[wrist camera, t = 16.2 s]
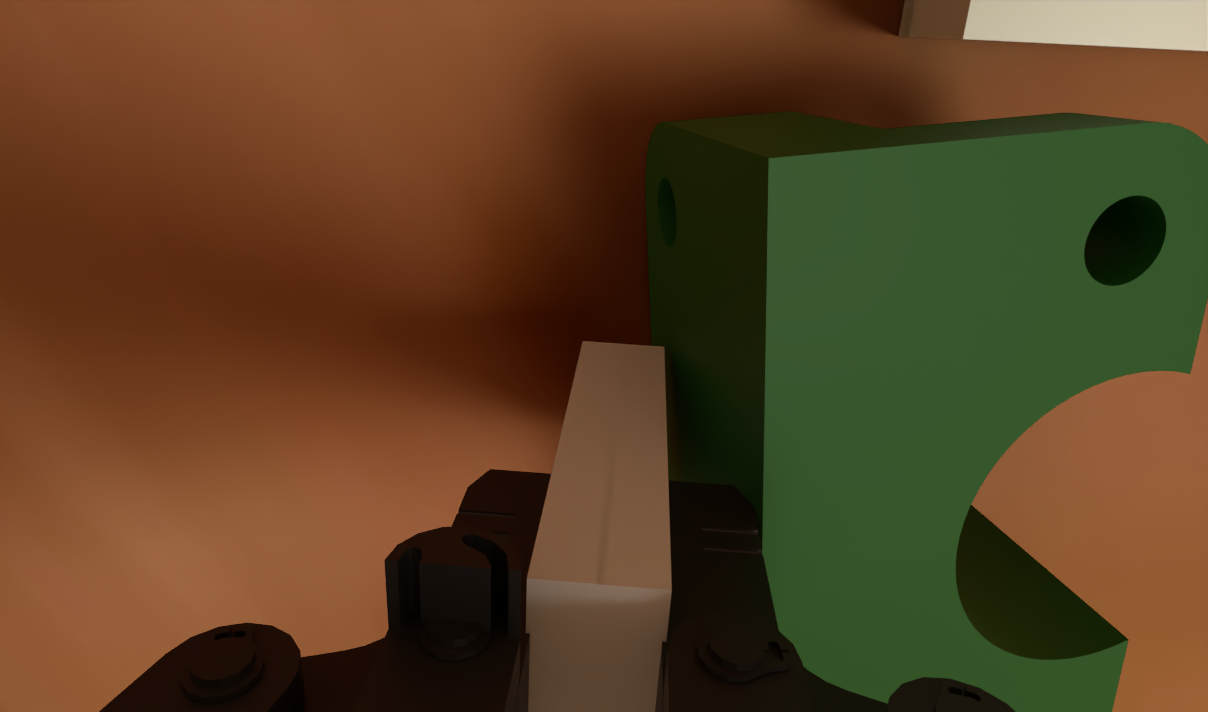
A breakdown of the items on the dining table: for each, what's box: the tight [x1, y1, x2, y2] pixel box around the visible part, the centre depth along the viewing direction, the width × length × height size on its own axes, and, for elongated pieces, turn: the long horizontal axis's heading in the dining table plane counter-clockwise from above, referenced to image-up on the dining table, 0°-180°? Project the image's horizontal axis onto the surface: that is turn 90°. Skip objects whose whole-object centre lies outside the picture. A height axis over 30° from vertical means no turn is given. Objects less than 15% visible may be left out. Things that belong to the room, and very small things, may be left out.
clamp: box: [645, 111, 1208, 712], centre depth 13 cm, size 12×6×9 cm, turn 178°
